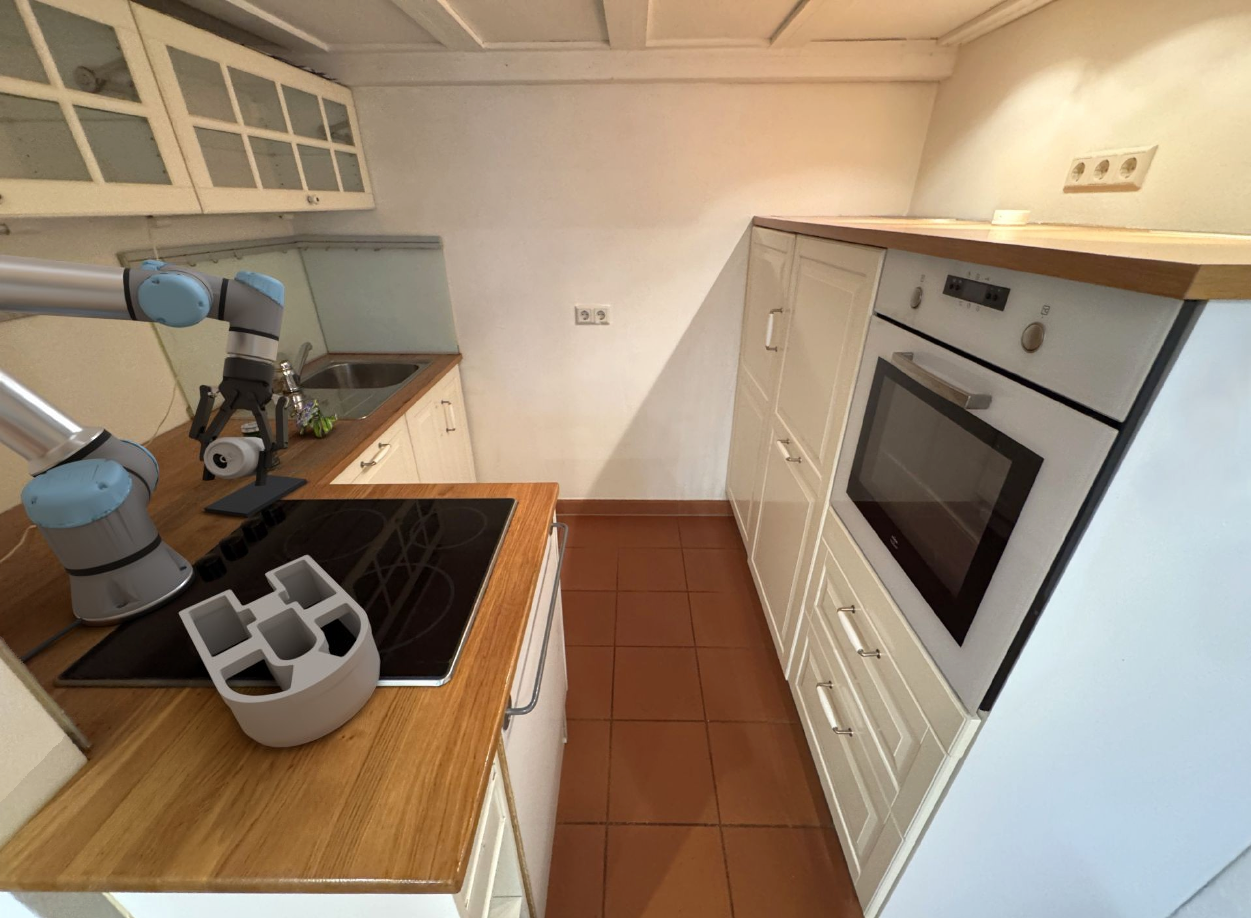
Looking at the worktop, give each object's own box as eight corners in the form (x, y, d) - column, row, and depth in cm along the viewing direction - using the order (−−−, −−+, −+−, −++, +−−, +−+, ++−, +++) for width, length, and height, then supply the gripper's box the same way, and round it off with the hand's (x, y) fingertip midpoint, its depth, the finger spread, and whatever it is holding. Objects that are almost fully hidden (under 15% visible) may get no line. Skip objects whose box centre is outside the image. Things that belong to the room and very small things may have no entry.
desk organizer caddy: (323, 596, 84) (307, 554, 80) (406, 684, 67) (391, 637, 64) (203, 657, 73) (178, 612, 69) (267, 781, 56) (238, 731, 52)
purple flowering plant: (310, 450, 152) (287, 417, 151) (345, 434, 157) (324, 401, 157) (306, 441, 142) (282, 405, 141) (344, 424, 148) (322, 389, 147)
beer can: (285, 461, 133) (269, 419, 127) (275, 470, 128) (259, 427, 122) (263, 463, 132) (246, 421, 127) (252, 473, 127) (235, 429, 122)
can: (223, 448, 97) (188, 449, 86) (262, 430, 99) (233, 429, 87) (246, 481, 98) (214, 487, 87) (283, 463, 100) (258, 466, 88)
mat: (247, 517, 108) (246, 513, 107) (205, 511, 110) (203, 507, 110) (307, 482, 121) (306, 478, 121) (267, 478, 124) (266, 474, 124)
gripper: (319, 372, 98) (304, 487, 99) (196, 352, 93) (180, 474, 93) (306, 367, 91) (290, 491, 91) (172, 345, 85) (155, 477, 86)
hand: (234, 482), depth 92 cm, fingers closed on can, 7 cm apart
